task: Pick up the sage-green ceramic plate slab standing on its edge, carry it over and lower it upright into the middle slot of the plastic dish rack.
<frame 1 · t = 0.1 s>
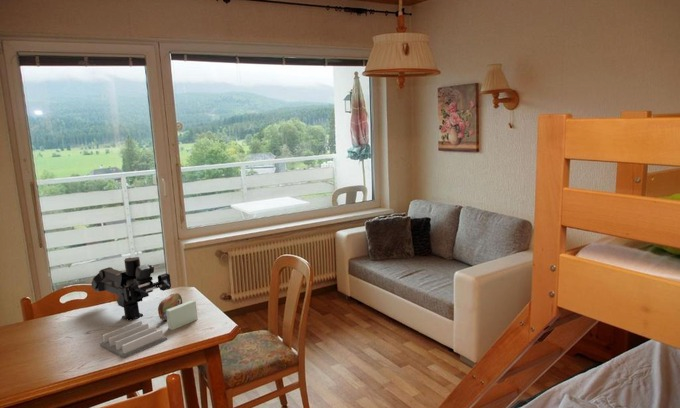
hand: (159, 291, 184), 17 cm above the table, tool horizontal, fingers open, 9 cm apart
tin: (171, 316, 202), on the table
dish rack: (133, 342, 179), on the table
plate slab: (183, 324, 193), on the table
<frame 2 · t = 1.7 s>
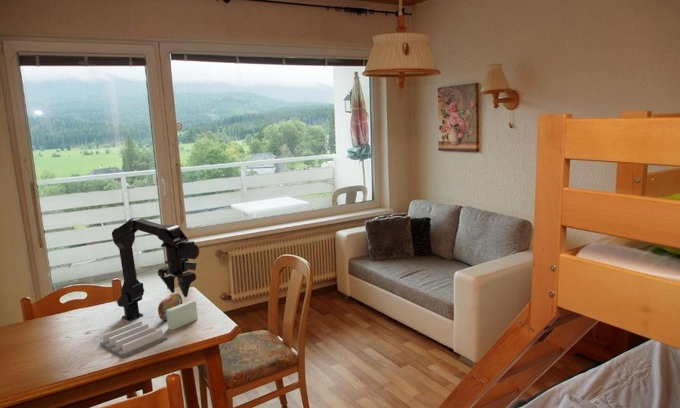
hand: (179, 294, 191), 12 cm above the table, tool pointing down, fingers open, 9 cm apart
nothing on the table moved.
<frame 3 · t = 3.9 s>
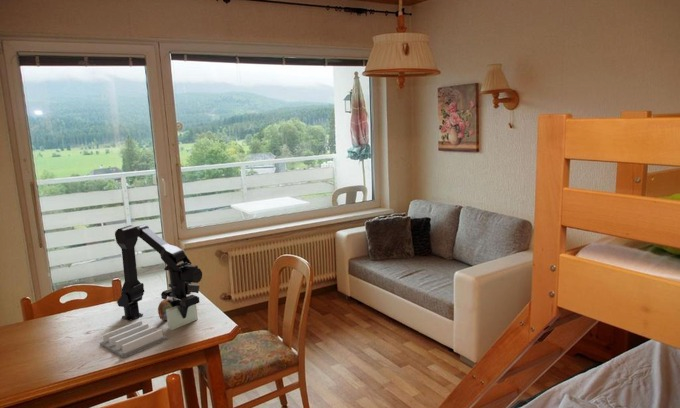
hand: (182, 317, 193), 3 cm above the table, tool pointing down, fingers closed on plate slab, 2 cm apart
plate slab: (183, 323, 193), on the table, touching gripper
everything else where it was.
when the fingers open (5 cm above the table, at t = 8.8 s): plate slab stays where it is, resting on dish rack.
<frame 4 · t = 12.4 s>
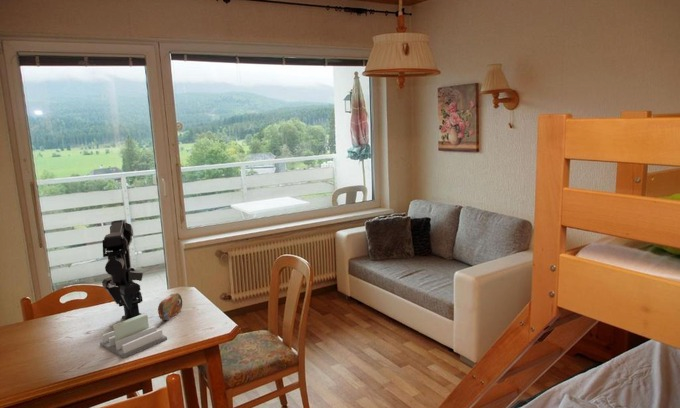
hand: (124, 306, 184), 12 cm above the table, tool pointing down, fingers open, 9 cm apart
plate slab: (133, 339, 179), point 1 cm above the table, touching dish rack
everything else where it was.
at the end: plate slab 0.0 cm off-centre on the dish rack, point 1.0 cm above the dish rack's base; plate slab tilted 0°; the gripper is holding nothing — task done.
